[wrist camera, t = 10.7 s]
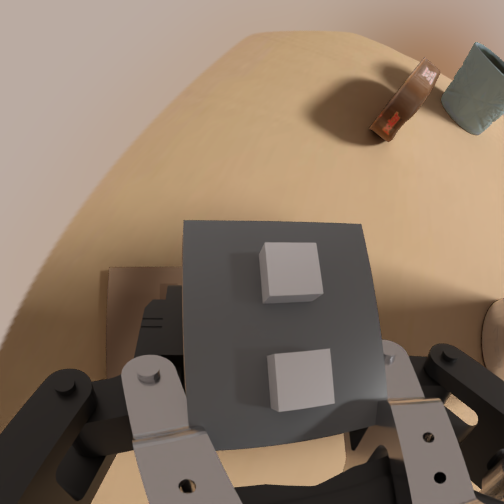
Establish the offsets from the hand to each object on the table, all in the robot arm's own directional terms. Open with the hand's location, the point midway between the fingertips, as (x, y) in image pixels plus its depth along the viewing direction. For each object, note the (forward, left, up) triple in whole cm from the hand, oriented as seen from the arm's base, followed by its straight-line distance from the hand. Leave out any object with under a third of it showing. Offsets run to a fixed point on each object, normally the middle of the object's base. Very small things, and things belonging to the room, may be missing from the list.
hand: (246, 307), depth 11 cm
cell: (0, +2, -4) cm, 4 cm away
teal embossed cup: (-37, -29, -10) cm, 48 cm away
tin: (-20, -23, -10) cm, 32 cm away
